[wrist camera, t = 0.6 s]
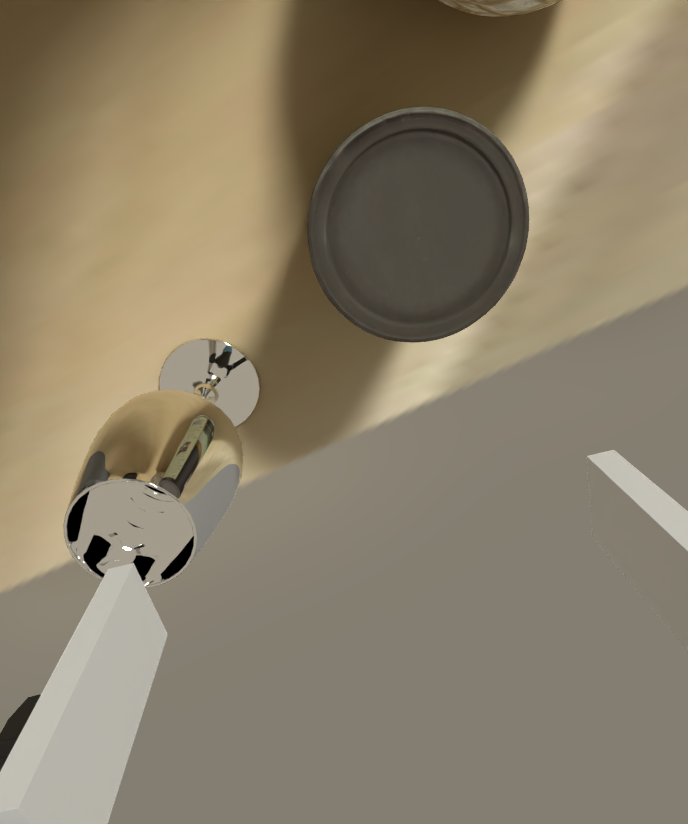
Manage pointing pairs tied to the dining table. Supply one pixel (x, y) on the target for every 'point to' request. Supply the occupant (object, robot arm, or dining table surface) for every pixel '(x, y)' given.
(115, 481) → the wineglass
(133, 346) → the dining table surface
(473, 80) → the dining table surface
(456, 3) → the vase
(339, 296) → the coffee can
